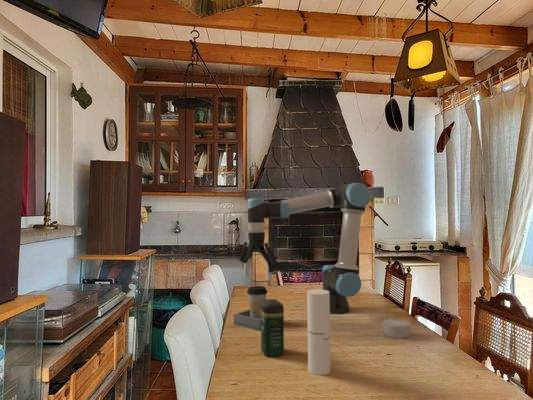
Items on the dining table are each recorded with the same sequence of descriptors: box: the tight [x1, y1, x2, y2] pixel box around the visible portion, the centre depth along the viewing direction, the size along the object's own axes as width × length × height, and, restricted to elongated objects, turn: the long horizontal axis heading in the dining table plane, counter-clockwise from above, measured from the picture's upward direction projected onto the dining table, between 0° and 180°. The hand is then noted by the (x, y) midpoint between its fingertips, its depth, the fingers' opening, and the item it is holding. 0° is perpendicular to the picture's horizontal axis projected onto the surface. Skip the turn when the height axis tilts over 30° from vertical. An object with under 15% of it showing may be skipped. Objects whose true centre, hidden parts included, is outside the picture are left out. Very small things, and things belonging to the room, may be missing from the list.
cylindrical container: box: [306, 289, 331, 376], centre depth 118 cm, size 7×7×25 cm
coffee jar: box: [260, 298, 285, 357], centre depth 133 cm, size 10×8×19 cm
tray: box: [233, 308, 261, 332], centre depth 167 cm, size 15×15×4 cm
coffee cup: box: [246, 285, 268, 319], centre depth 167 cm, size 9×9×15 cm
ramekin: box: [381, 317, 412, 339], centre depth 150 cm, size 11×11×5 cm
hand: (257, 278), depth 167 cm, fingers open, 13 cm apart
